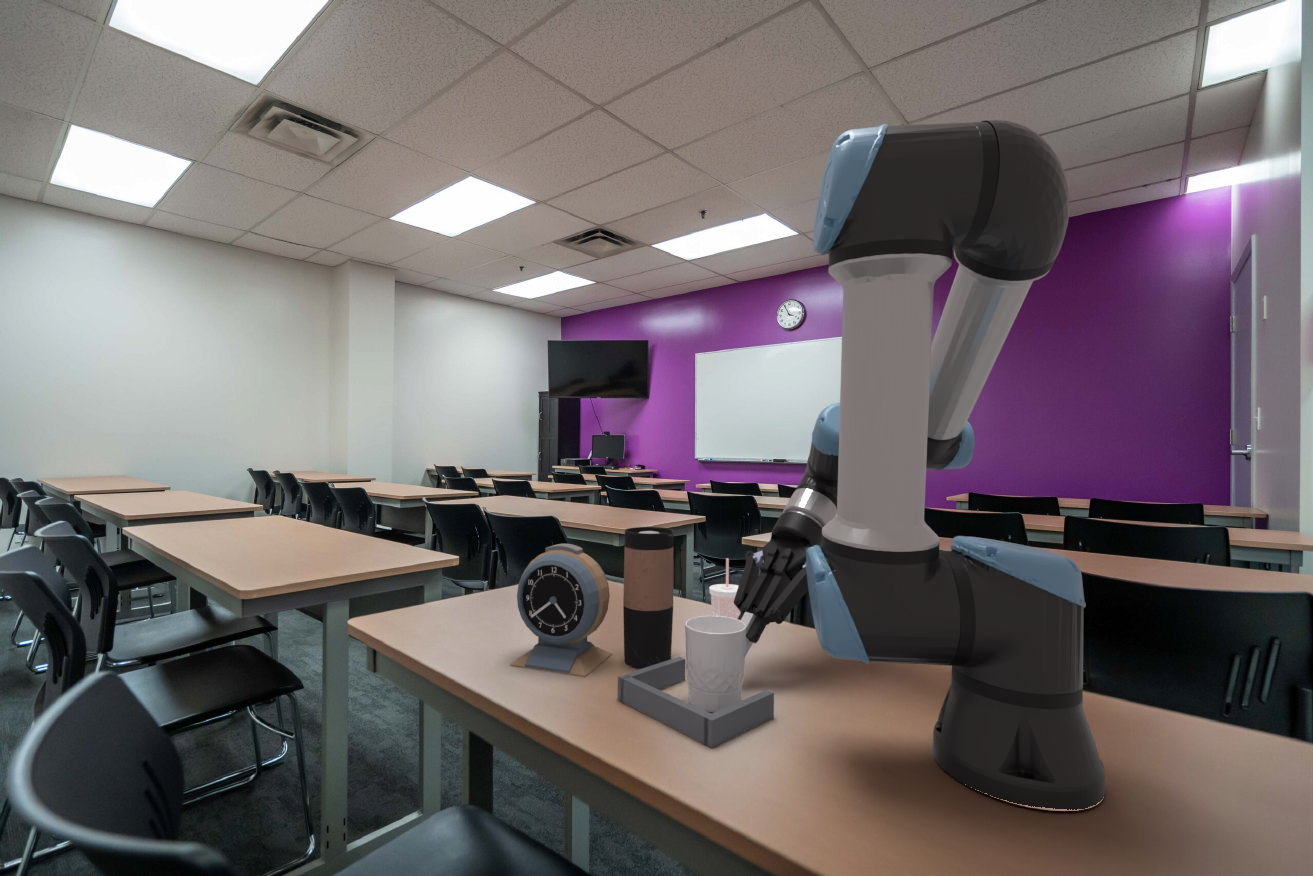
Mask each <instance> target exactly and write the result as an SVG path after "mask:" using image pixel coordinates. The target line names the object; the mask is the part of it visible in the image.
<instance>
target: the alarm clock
mask: <svg viewBox="0 0 1313 876" xmlns="http://www.w3.org/2000/svg"><path fill="white" fill-rule="evenodd" d="M583 550H584V549H583V548H582V547H580V546H578V545H575V544H573V543H572V544H571V543H558V544H554V545H550V546H547V547H545V552H542V553H541V554H538V555H537V556H536V557H535V558H534V559H532V560H531V561H530V562H529V563H528V565H527V566H526V568H525V569H524V570H523V573H522V574H521V577H520V579H519V583H518V586H517V593H516V599H517V601H516V602H517V609H518V612H519V614H520V617H521V620H522V621H523V623H524V625H525V626H526V628H527V629H528V630H529V631H531V633H533V635H535V637H537V639H538V640H537V642H538V643H536V644H535V645H534V646H533V648H532V649H530V650H528V651H527V652H526V653H524V654H523V655H521V656H520V657H519V658H517V659H516V660H514V661H513V662H512V663H510V665H509V666H510V667H515V668H521V669H529V670H535V671H541V672H547V673H555V674H561V675H567V676H574V677H579V678H586V677H587V676H589V675H590V674H591V673H592V672H593V671H595V670H596V669H597V668H598V667H599V666H600V665H602V664H603V663H604V662H605V661H607V660H608V658H610V657H611V656H613V653H612V652H610V651H608V650H605V649H603V648H601V647H598V646H595V644H593V643H592V642H591V641H588V636H590V635H591V634H593V633H595V631H597V630H598V629H599V627H600V626H601V624H602V623H603V622H604V620H605V617H606V615H607V613H608V610H609V603H610V595H611V593H610V586H609V581H608V579H607V577H606V573H605V572H604V570H603V569H602V566H601V565H600V564H599V563H598V562H597V561H596V560H595V559H594V558H593V557H591V556H589V554H586V553H585V552H584V551H583Z"/></svg>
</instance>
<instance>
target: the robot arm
mask: <svg viewBox="0 0 1313 876" xmlns="http://www.w3.org/2000/svg"><path fill="white" fill-rule="evenodd" d="M831 146H832V147H830V150H829V153H828V157H827V159H826V160H827V161H826V163H825V168H824V172H823V176H822V179H821V185H820V190H819V195H818V199H817V206H816V212H815V218H814V228H813V243H812V245H813V250H814V252H816V253H817V254H820V256H826V255H828V270H827V271H828V274H829V275H830V276H831V277H832V278H833V279H834V280H835V281H836V282H837V283H838V284H839V285H840V286H841V288H842V290H843V291H842V320H841V323H842V324H841V355H840V357H841V360H840V361H841V362H840V363H841V364H840V388H839V389H840V391H839V394H840V396H839V402H836V403H832V404H830V405H827V406H825V408H823V409H822V410H821V411H820V412H819V414H818V416H817V418H816V421H815V425H814V428H813V430H812V433H811V443H810V450H809V455H808V458H807V462H806V467H805V469H804V473H803V474H802V477H801V479H800V481H799V483H798V485H797V486H796V488H795V490H794V491H793V493H792V495H791V497H790V498H789V500H788V501H787V504H786V505H785V506H784V509H783V510H782V514H780V515H779V518H778V519H777V521H776V523H775V525H774V526H773V528H772V530H771V535H770V540H768V542H767V543H766V544H765V545H764V546H763V547H762V550H760V551H756V552H753V550H747V551H746V553H745V565H744V567H743V568H744V569H743V571H742V574H741V577H740V580H739V583H738V585H739V586H738V590H737V593H736V596H735V599H734V604H735V605H736V607H737V608H738V609H739V611H740V612H741V613H740V615H739V617H738V620H741V621H743V622H744V623H745V624H746V644H745V658H746V656H747V655H748V653H749V651H750V649H751V647H752V645H753V644H756V643H758V642H759V640H760V638H761V636H762V634H763V633H764V630H765V629H766V628H767V627H766V626H767V625H770V624H771V623H775V624H776V625H780V624H782V623H783V622H784V621H785V620H786V618H787V617H788V616H789V614H790V613H791V612H792V611H793V610H794V608H795V607H796V606H797V605H798V603H799V602H800V600H801V599H803V597H804V596H805V594H806V593H807V592H808V596H809V603H810V607H811V614H812V619H813V624H814V629H815V633H816V636H817V640H818V642H819V645H820V647H821V648H822V650H823V652H825V653H826V654H827V655H828V656H830V657H831V658H834V659H836V660H837V659H838V660H839V659H840V660H848V661H849V660H850V661H859V662H863V664H870V663H884V664H905V665H907V664H908V665H910V664H911V665H926V666H927V665H929V666H930V665H932V666H949V667H951V681H950V686H949V687H948V690H947V693H946V696H945V698H944V701H943V704H942V707H941V708H940V712H939V713H938V718H937V721H936V723H935V725H934V727H933V733H932V754H933V757H934V759H935V761H936V763H937V764H938V766H940V768H941V769H943V771H944V772H945V773H947V772H948V773H949V774H950V776H951V777H952V776H953V777H954V778H953V777H952V778H953V779H955V780H956V779H957V780H956V781H958V780H959V781H960V783H961V782H962V783H961V784H963V785H964V784H966V785H967V786H966V785H965V786H966V787H968V786H969V787H968V788H970V787H972V788H973V789H972V788H971V789H972V790H974V789H976V790H979V791H981V792H983V793H987V794H988V795H991V796H993V797H996V798H999V799H1003V800H1007V801H1009V802H1013V803H1017V804H1022V805H1028V806H1031V807H1032V806H1033V807H1034V806H1035V807H1041V808H1042V807H1045V808H1053V809H1054V808H1055V809H1067V810H1069V809H1070V810H1071V809H1072V810H1074V809H1075V810H1077V809H1085V808H1088V807H1090V806H1093V805H1096V804H1097V803H1098V802H1100V801H1101V800H1102V799H1103V797H1104V795H1105V796H1106V770H1105V766H1104V764H1103V761H1102V760H1101V757H1100V754H1099V751H1098V748H1097V745H1096V742H1095V739H1094V735H1093V733H1092V730H1091V727H1090V725H1089V721H1088V719H1087V715H1086V713H1085V709H1084V699H1083V698H1084V695H1083V694H1084V692H1083V691H1084V687H1083V686H1084V608H1086V606H1087V604H1086V601H1085V595H1084V586H1083V585H1084V584H1083V575H1082V571H1081V569H1080V567H1079V566H1078V564H1077V563H1076V562H1075V561H1074V560H1072V559H1071V558H1069V557H1068V556H1065V555H1062V554H1060V553H1058V552H1053V551H1049V550H1045V549H1042V548H1037V547H1033V546H1029V545H1026V544H1025V545H1024V544H1018V543H1014V542H1008V541H1003V540H996V539H991V538H986V537H985V538H983V537H976V536H968V535H967V536H965V535H956V536H954V537H953V539H952V541H951V543H950V544H949V547H950V550H940V541H941V539H940V537H939V536H938V534H937V533H935V531H934V530H932V528H931V527H930V526H929V525H928V524H927V523H926V521H925V509H926V508H925V507H926V506H925V503H926V500H925V499H926V484H927V483H926V480H927V477H926V476H927V470H930V471H943V470H958V469H964V468H965V467H966V466H968V464H970V462H971V460H972V458H973V457H974V449H975V443H976V441H975V433H974V430H973V426H972V424H971V423H970V422H969V421H968V420H969V418H970V416H971V414H972V411H973V409H974V407H975V405H976V403H977V402H978V401H977V400H978V399H979V396H980V395H981V393H982V390H983V388H984V387H985V384H986V381H987V380H988V378H989V375H990V374H991V371H992V369H993V367H994V365H995V363H996V360H997V358H998V357H999V354H1000V353H1001V350H1002V348H1003V346H1004V344H1005V341H1006V340H1007V337H1008V336H1009V334H1010V331H1011V329H1012V326H1013V325H1014V323H1015V320H1016V318H1017V317H1018V314H1019V312H1020V309H1021V308H1022V306H1023V303H1024V301H1025V299H1026V297H1027V295H1028V293H1029V290H1030V288H1031V287H1032V285H1033V282H1035V281H1038V280H1040V279H1042V278H1044V277H1045V276H1046V275H1047V274H1048V273H1049V272H1050V270H1051V269H1052V267H1053V265H1054V263H1055V261H1056V259H1057V257H1058V255H1059V253H1060V251H1061V248H1062V246H1063V243H1064V239H1065V236H1066V233H1067V228H1068V225H1069V219H1070V218H1069V216H1070V193H1069V188H1068V187H1069V186H1068V182H1067V176H1066V173H1065V169H1064V168H1063V166H1062V163H1061V161H1060V159H1059V157H1058V156H1057V154H1056V152H1055V150H1054V149H1053V147H1052V146H1051V145H1050V144H1049V142H1048V141H1046V140H1045V138H1043V136H1042V135H1040V134H1038V133H1037V132H1035V131H1034V130H1032V129H1030V128H1029V127H1027V126H1025V125H1023V124H1020V123H1018V122H1013V121H1010V120H1009V121H1008V120H997V119H989V120H988V119H987V120H981V121H972V122H971V121H969V122H949V123H948V122H945V123H926V124H925V123H924V124H923V123H921V124H901V125H898V124H896V125H888V123H883V124H881V125H879V126H873V127H871V126H870V127H863V128H862V127H861V128H852V129H849V130H846V131H844V132H843V133H841V134H840V135H839V136H838V137H837V138H836V140H834V142H833V144H832V145H831ZM953 256H954V257H953ZM953 258H954V259H955V261H956V263H957V264H958V267H957V269H956V274H955V277H954V279H953V283H952V284H951V288H950V291H949V293H948V296H947V299H946V302H945V304H944V307H943V310H942V314H941V317H940V319H939V322H938V325H937V328H936V331H935V332H934V333H935V334H934V337H933V335H932V334H933V333H932V332H933V314H934V313H933V312H934V309H933V308H934V288H935V287H934V286H935V284H936V281H937V280H938V279H939V278H940V277H942V275H943V274H944V273H945V272H946V271H948V269H950V267H952V265H953ZM932 337H933V339H932ZM948 773H947V774H948ZM949 774H948V775H949ZM959 781H958V782H959ZM976 790H975V791H976ZM1104 798H1105V797H1104Z"/></svg>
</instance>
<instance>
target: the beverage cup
mask: <svg viewBox="0 0 1313 876" xmlns="http://www.w3.org/2000/svg"><path fill="white" fill-rule="evenodd" d="M729 563H730V559H729V558H728V557H727V558H726V557H725V583H717V584H712V585H710V586H709V588H708V589H709V594H710V601H711V616H725V617H731V618H735V619H738V617H739V615H740V613H741V612H740V611H739V609H738V608H737V607H736V605H735V604H734V599H735V596H736V593H737V590H738V586H739V584H731V583H730V582H729V581H730V579H729V578H730V577H729V576H730V573H729V572H730V571H729V570H730V566H729V565H730V564H729Z"/></svg>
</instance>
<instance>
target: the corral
mask: <svg viewBox="0 0 1313 876" xmlns="http://www.w3.org/2000/svg"><path fill="white" fill-rule="evenodd" d="M684 681H686V658H684V657H682V656H677V657H674V658H671V659H670V660H667V661H664V662H661V663H658V664H655V665H652V666H649V667H646V668H643V669H637V670H634V671H630V672H627V673H625V674H622V675H618V676H617V700H618V701H619V702H621V703H623V704H625V705H627V706H629V707H631V708H633V709H635V710H636V711H639V712H641V713H642V714H644V715H646V716H649V717H650V718H652V719H654V720H656V721H658V722H660V723H661V724H664V725H666V726H667V727H669V728H671V729H674V730H676V731H678V732H679V733H681V734H683V735H685V736H687V737H689V738H691V739H693V740H695V741H696V742H699V743H701V744H703V745H704V746H707V748H708V747H709V748H710V749H713V748H715V747H718V746H719V745H721V744H724V743H725V742H727V741H729V740H731V739H733V738H736V737H737V736H739V735H742V734H744V733H745V732H747V731H749V730H751V729H754V728H756V727H758V726H760V725H761V724H764V723H765V722H768V721H771V720H773V719H774V717H775V693H774V692H773V691H771V690H767V689H765V690H762V691H761V692H758V693H756V694H755V693H754V694H753V695H751V696H749V697H746V698H744V699H741V701H739V702H737V703H735V704H732V705H730V706H728V707H725V708H723V709H721V710H718V711H716V712H707V711H705V710H702V709H700V708H698V707H696V706H694V705H691V704H690V702H688V701H684V700H683V699H680V698H678V697H676V696H673V695H671V694H670V693H667V692H665V691H663V690H662V689H665V688H668V687H671V686H674V685H676V684H679V683H682V682H684Z"/></svg>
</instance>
